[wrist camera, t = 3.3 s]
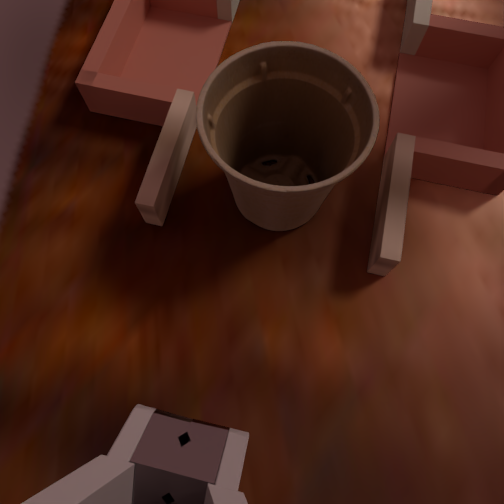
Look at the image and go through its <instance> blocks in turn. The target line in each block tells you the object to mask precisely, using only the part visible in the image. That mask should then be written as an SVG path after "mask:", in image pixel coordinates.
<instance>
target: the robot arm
mask: <svg viewBox="0 0 504 504" xmlns="http://www.w3.org/2000/svg"><path fill="white" fill-rule="evenodd" d="M229 429H230V430H229ZM248 438H249V433H248V432H244V431H240V430H236V429H232V428H229V427H225V426H221V425H217V424H213V423H209V422H205V421H201V420H197V419H190V418H187V417H183V416H180V415H176V414H173V413H169V412H166V411H162V410H159V409H155V408H151V407H147V406H144V405H140V404H137V405H136V406H135V407H134V408H133V410H132V412H131V414H130V415H129V417H128V419H127V421H126V422H125V424H124V426H123V428H122V430H121V431H120V433H119V435H118V437H117V438H116V440H115V442H114V444H113V446H112V447H111V449H110V451H109V453H108V454H107V456H105V455H100V456H98V457H96V458H95V459H93V460H91V461H90V462H88V463H86V464H85V465H83V466H82V467H80V468H78V469H77V470H75V471H73V472H72V473H70V474H69V475H67V476H65V477H64V478H62V479H60V480H59V481H57V482H56V483H54V484H52V485H51V486H49V487H47V488H46V489H44V490H42V491H41V492H39V493H38V494H36V495H34V496H33V497H31V498H29V499H28V500H26V501H25V502H23V503H21V504H248V503H247V501H246V498H245V495H244V493H242V492H239V491H238V487H239V482H240V478H241V473H242V468H243V463H244V458H245V453H246V448H247V443H248Z"/></svg>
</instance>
